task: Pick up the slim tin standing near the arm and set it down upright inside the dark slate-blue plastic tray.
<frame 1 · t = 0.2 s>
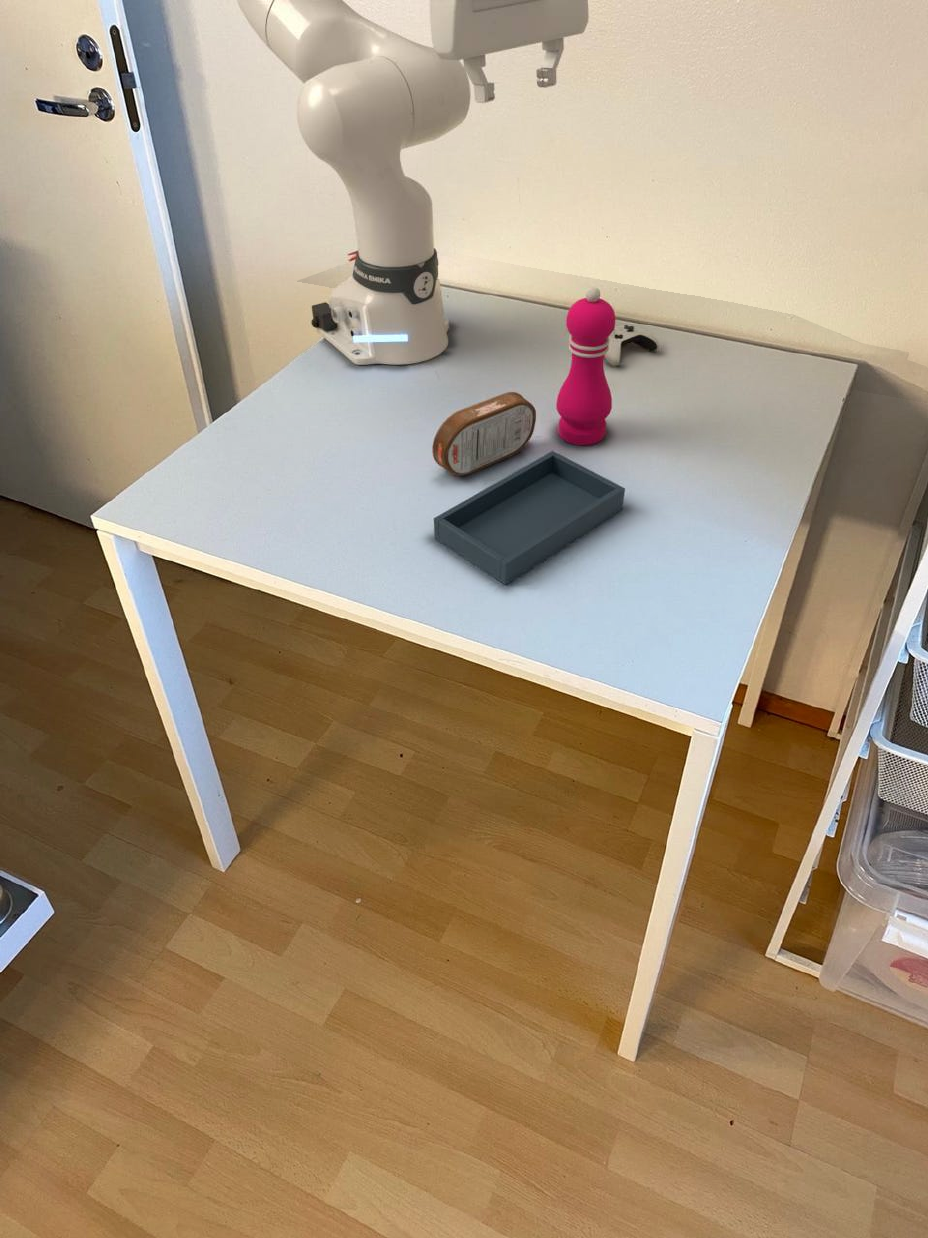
hand: (516, 93, 103), 39 cm above the table, tool pointing down, fingers open, 8 cm apart
tray: (530, 523, 108), on the table
tin: (486, 463, 118), on the table
game controller: (622, 353, 139), on the table
pepper mill: (581, 434, 123), on the table
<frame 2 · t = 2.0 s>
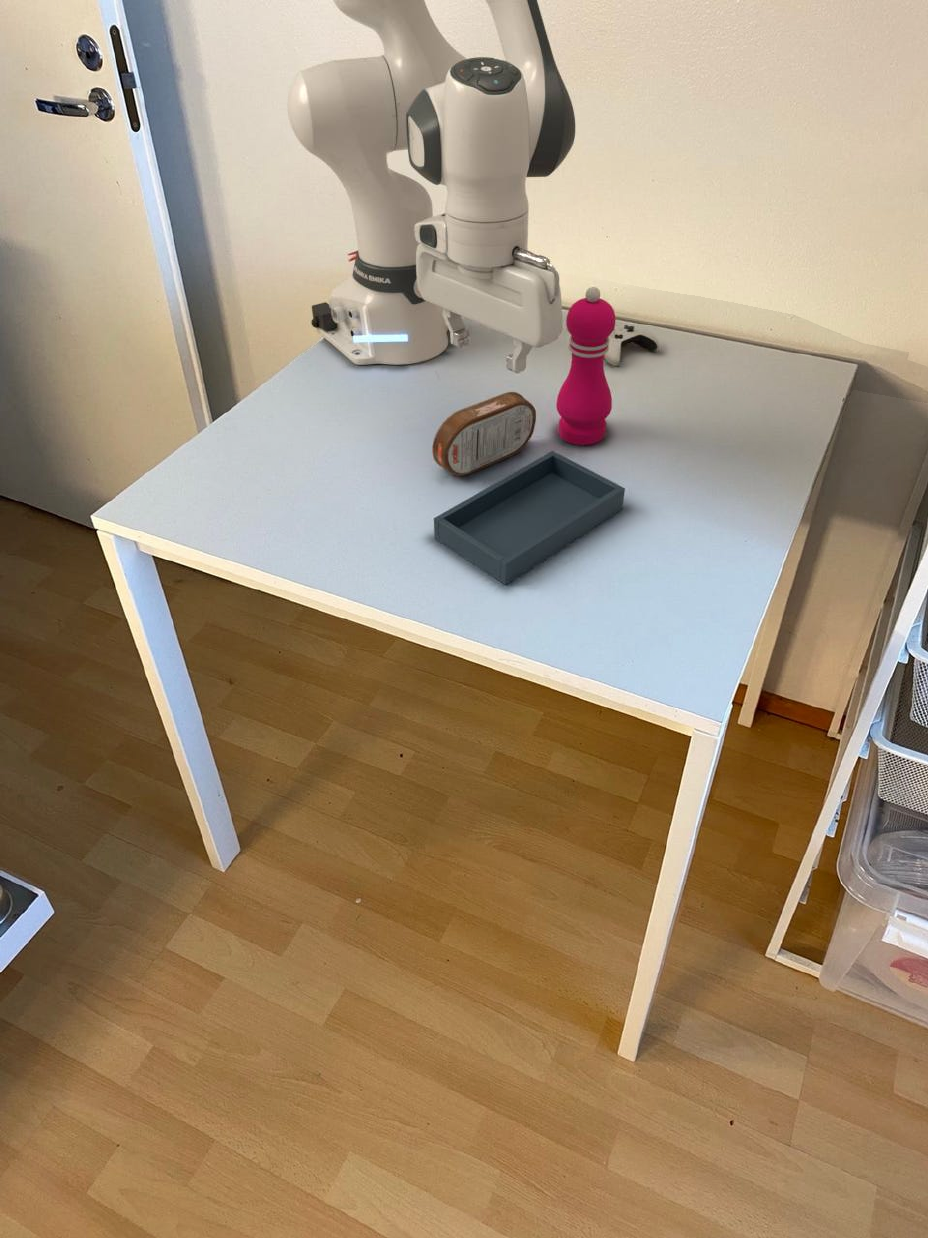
hand: (487, 356, 107), 15 cm above the table, tool pointing down, fingers open, 8 cm apart
nothing on the table moved.
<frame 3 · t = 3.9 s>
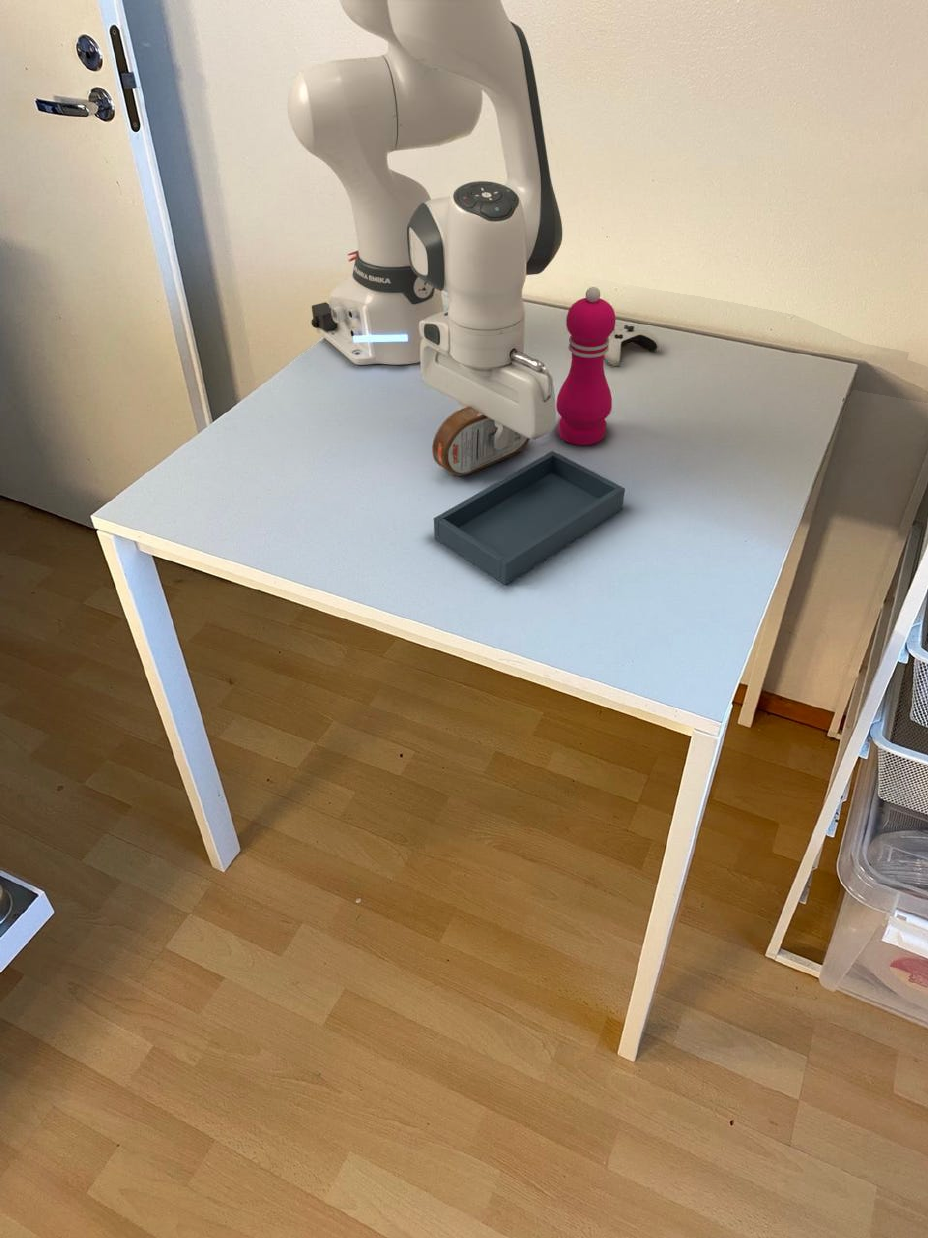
hand: (486, 439, 115), 3 cm above the table, tool pointing down, fingers closed on tin, 3 cm apart
tin: (486, 463, 118), on the table, touching gripper
everything else where it was.
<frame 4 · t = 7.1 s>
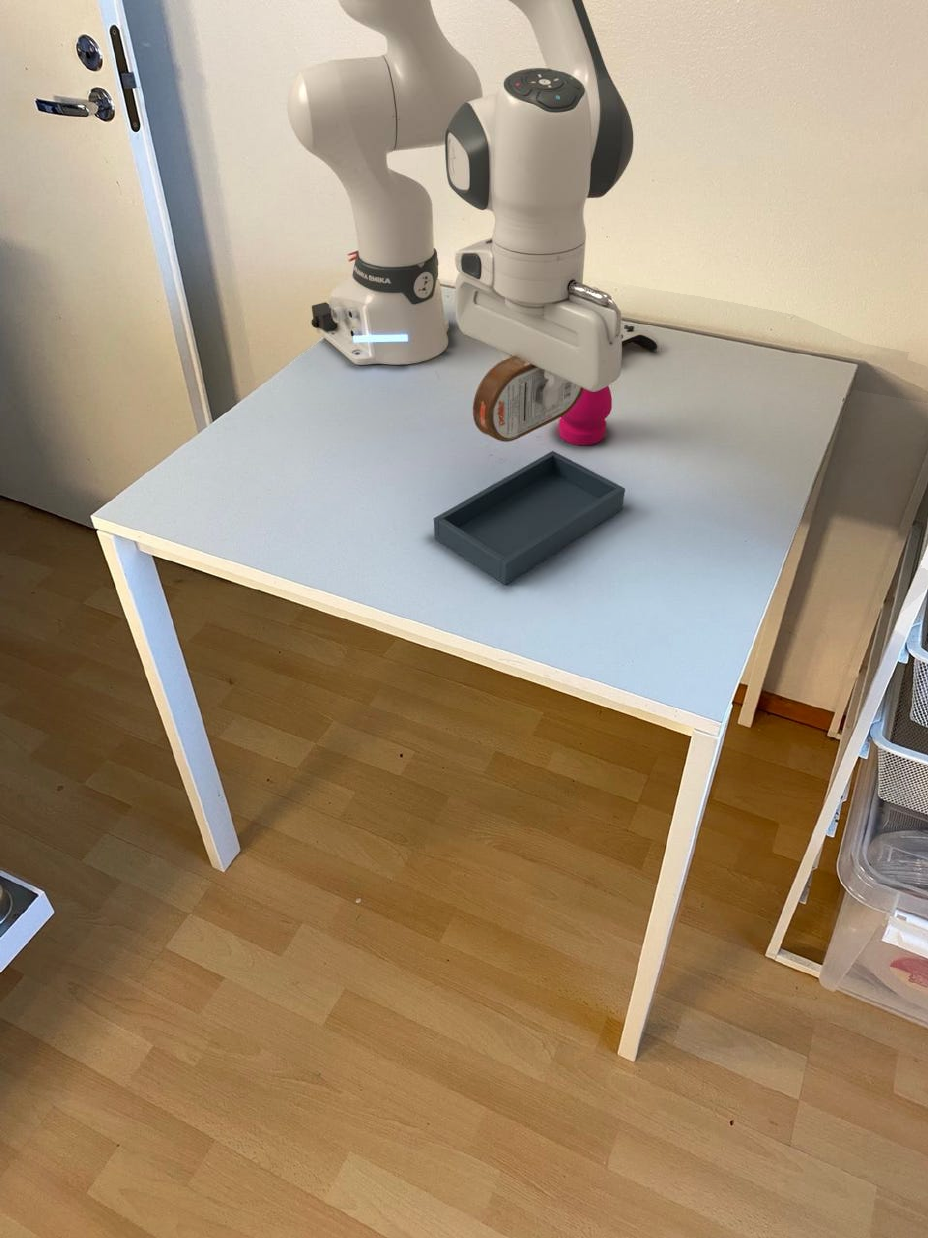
hand: (533, 396, 97), 16 cm above the table, tool pointing down, fingers closed on tin, 2 cm apart
tin: (533, 427, 99), point 13 cm above the table, touching gripper
everything else where it was.
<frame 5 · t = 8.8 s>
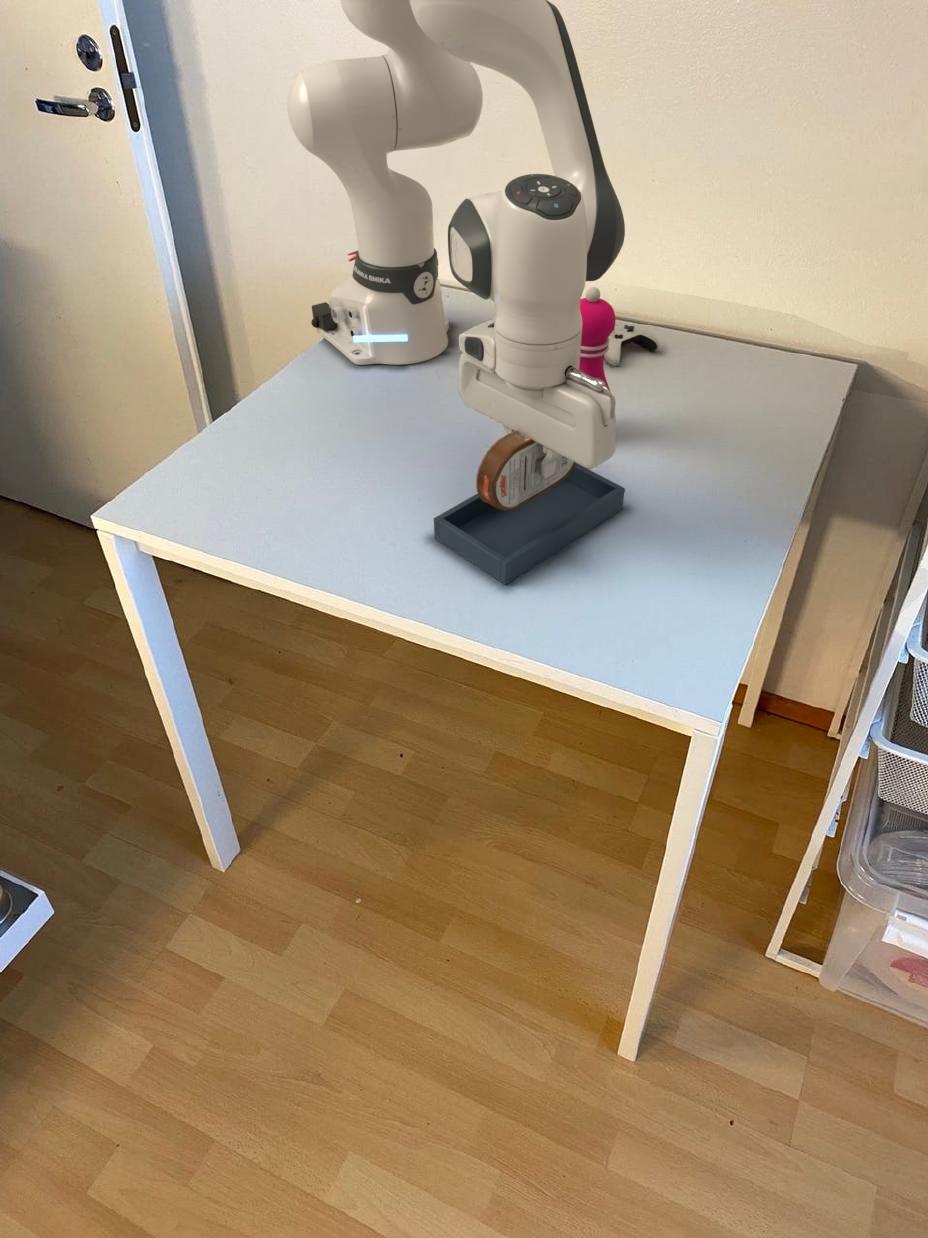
hand: (532, 466, 102), 8 cm above the table, tool pointing down, fingers closed on tin, 2 cm apart
tin: (532, 494, 105), point 4 cm above the table, touching gripper
everything else where it was.
when the fingers open (4 cm above the table, at t = 10.1 s): tin stays where it is, resting on tray.
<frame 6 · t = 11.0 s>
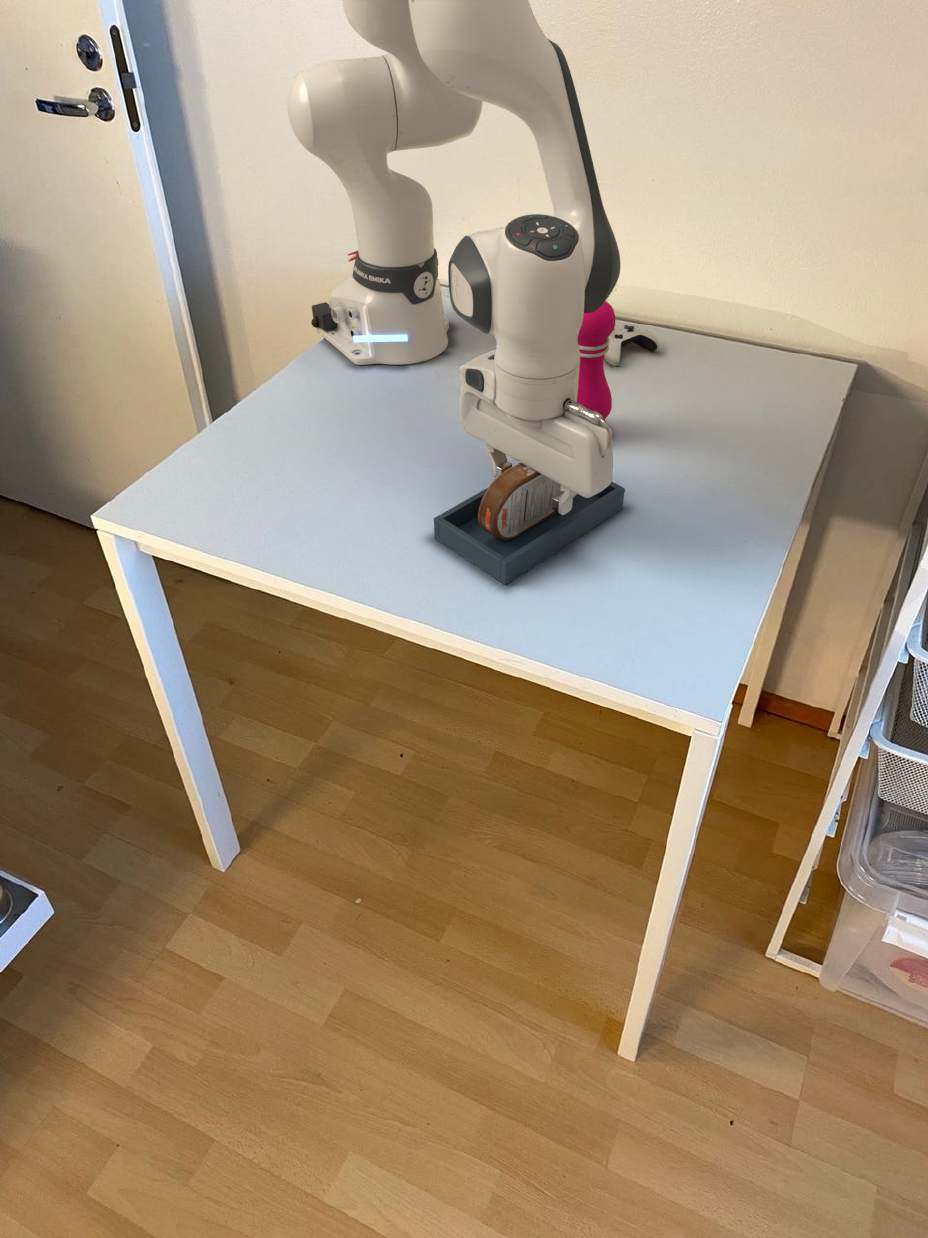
hand: (531, 493, 105), 4 cm above the table, tool pointing down, fingers open, 8 cm apart
tin: (531, 523, 107), resting on tray
everything else where it was.
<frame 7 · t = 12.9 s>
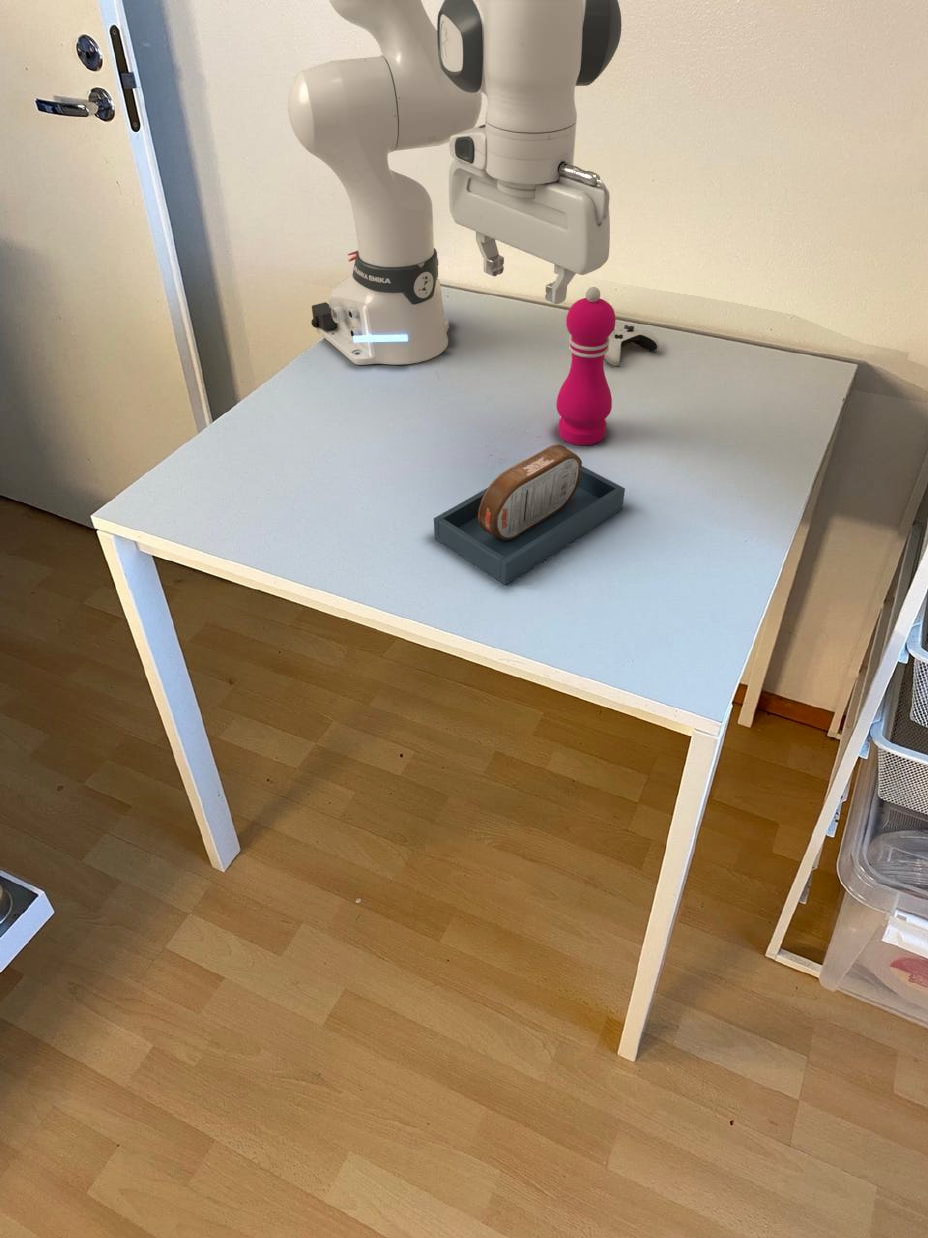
hand: (523, 286, 100), 24 cm above the table, tool pointing down, fingers open, 8 cm apart
nothing on the table moved.
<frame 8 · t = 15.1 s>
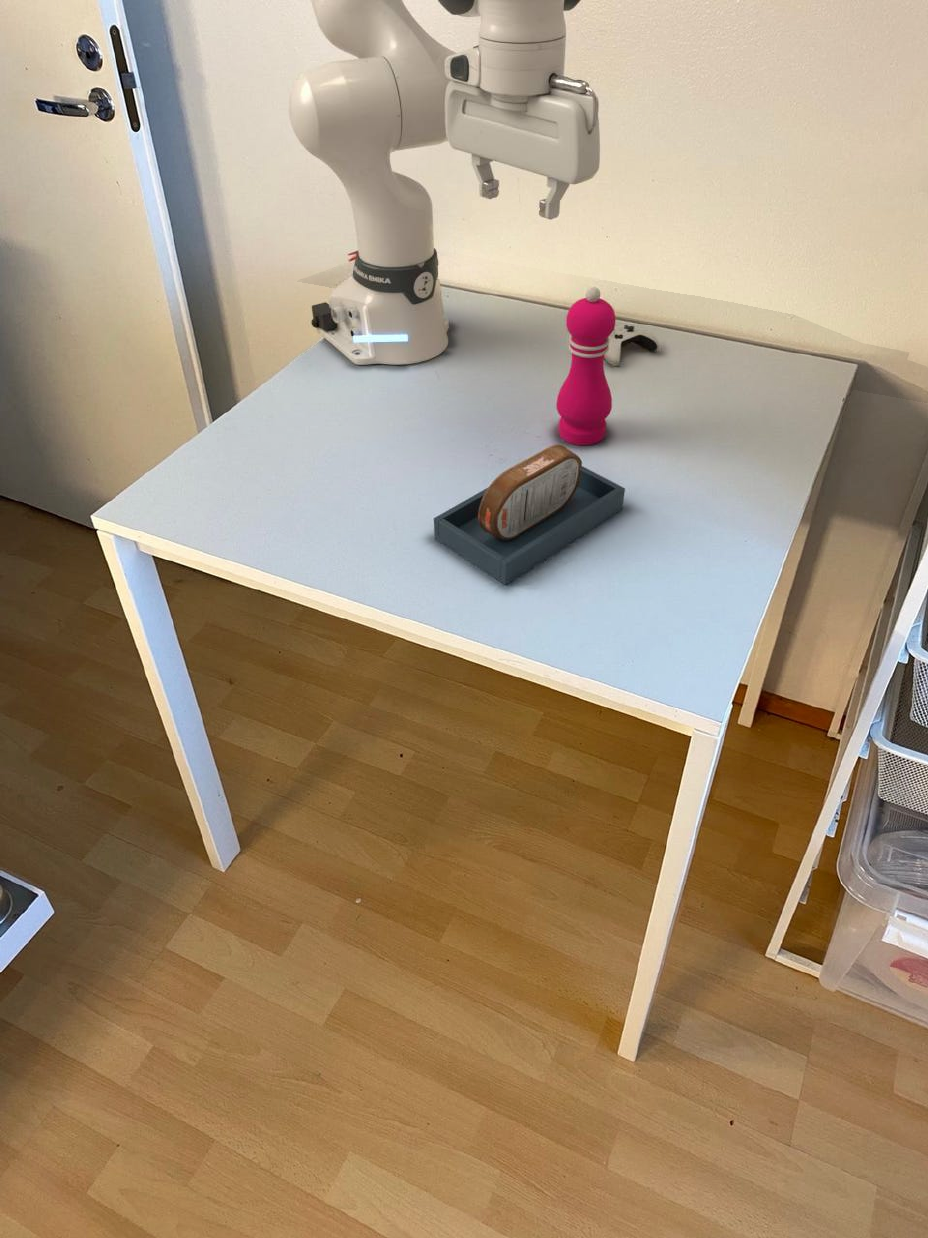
hand: (518, 206, 103), 29 cm above the table, tool pointing down, fingers open, 8 cm apart
nothing on the table moved.
at the end: tin inside the target area in the tray (0.4 cm from its centre), point 0.3 cm above the tray's base; the gripper is holding nothing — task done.
